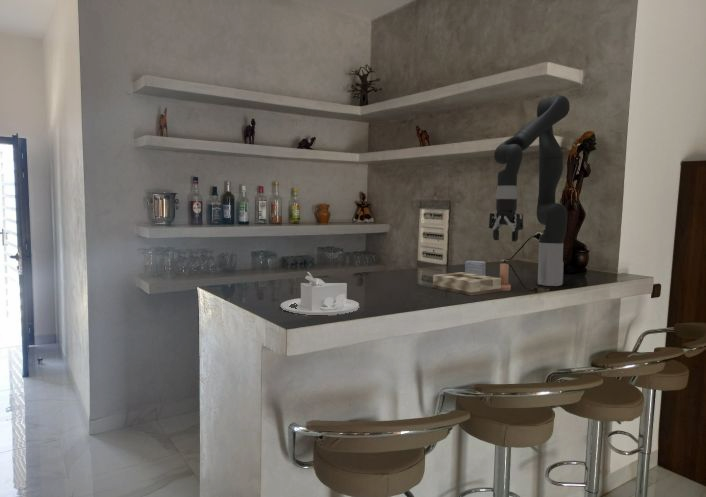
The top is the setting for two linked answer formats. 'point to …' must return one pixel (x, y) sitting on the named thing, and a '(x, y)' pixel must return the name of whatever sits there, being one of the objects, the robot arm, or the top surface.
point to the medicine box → (475, 267)
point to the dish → (321, 299)
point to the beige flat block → (467, 283)
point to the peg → (504, 277)
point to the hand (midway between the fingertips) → (505, 240)
